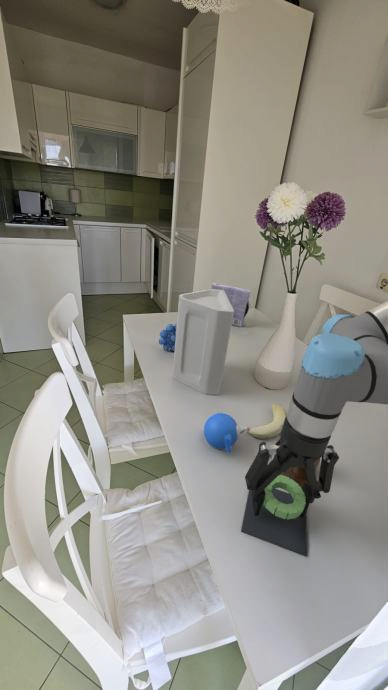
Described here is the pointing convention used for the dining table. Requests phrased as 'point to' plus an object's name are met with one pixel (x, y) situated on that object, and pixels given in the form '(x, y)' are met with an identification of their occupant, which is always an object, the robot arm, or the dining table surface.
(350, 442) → the dining table surface
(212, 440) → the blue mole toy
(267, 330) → the dining table surface
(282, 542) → the mat
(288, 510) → the ring
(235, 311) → the purple towel
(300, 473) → the stand
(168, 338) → the grapes
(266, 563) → the dining table surface
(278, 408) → the fruit
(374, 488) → the dining table surface
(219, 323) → the white prism box
